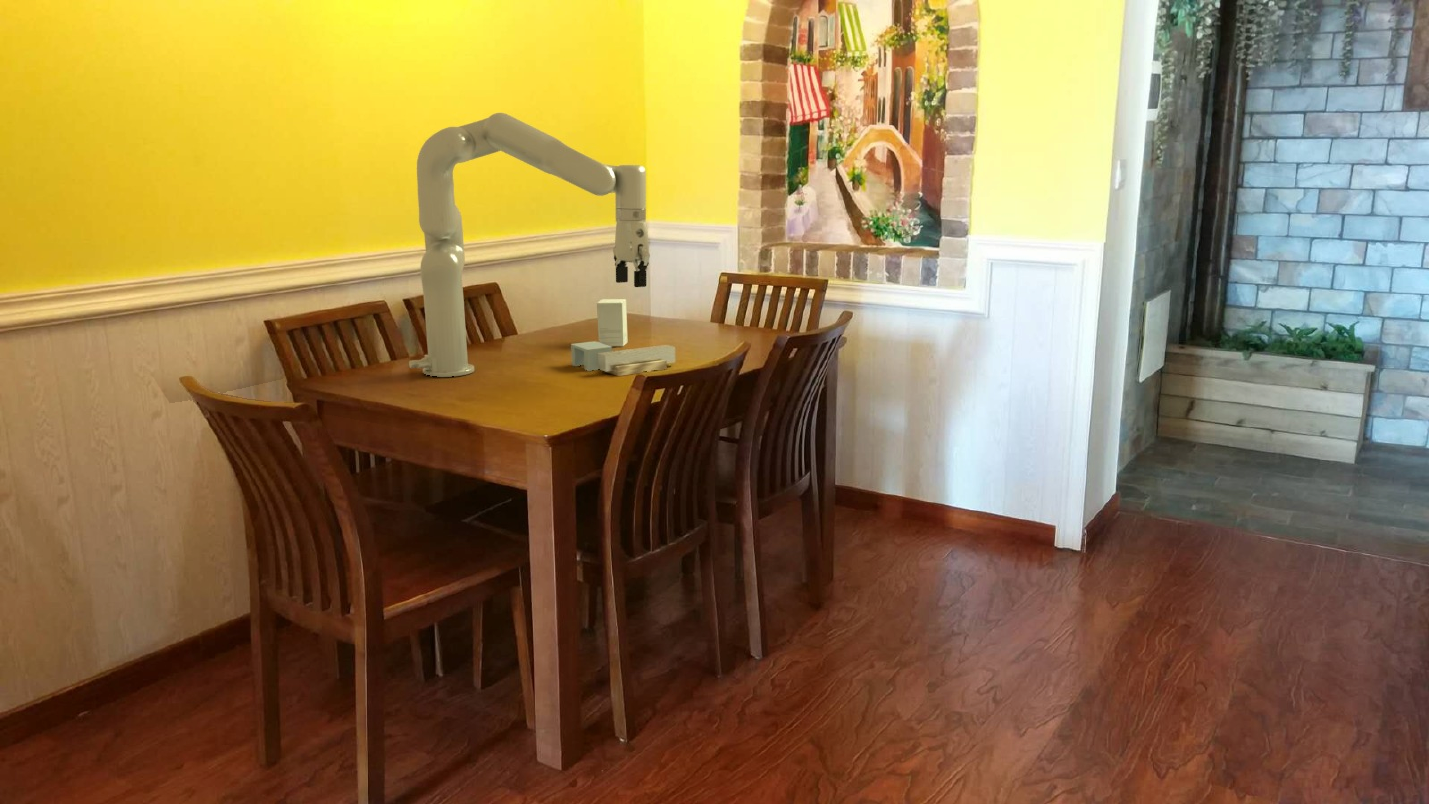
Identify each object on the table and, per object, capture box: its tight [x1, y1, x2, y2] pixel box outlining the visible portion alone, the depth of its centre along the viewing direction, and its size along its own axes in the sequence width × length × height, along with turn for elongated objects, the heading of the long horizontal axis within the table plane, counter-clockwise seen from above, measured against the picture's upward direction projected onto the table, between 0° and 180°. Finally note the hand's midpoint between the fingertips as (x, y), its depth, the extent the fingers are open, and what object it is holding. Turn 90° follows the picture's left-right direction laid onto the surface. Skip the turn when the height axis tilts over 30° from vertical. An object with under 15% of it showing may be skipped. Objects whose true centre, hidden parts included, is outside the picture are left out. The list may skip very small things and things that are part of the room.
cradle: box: [606, 360, 668, 377], centre depth 263 cm, size 14×8×2 cm, turn 124°
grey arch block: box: [570, 341, 613, 372], centre depth 267 cm, size 7×9×6 cm
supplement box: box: [596, 298, 629, 347], centre depth 295 cm, size 7×7×13 cm
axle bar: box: [598, 344, 676, 373], centre depth 263 cm, size 20×4×4 cm, turn 123°
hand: (630, 284), depth 262 cm, fingers open, 9 cm apart
